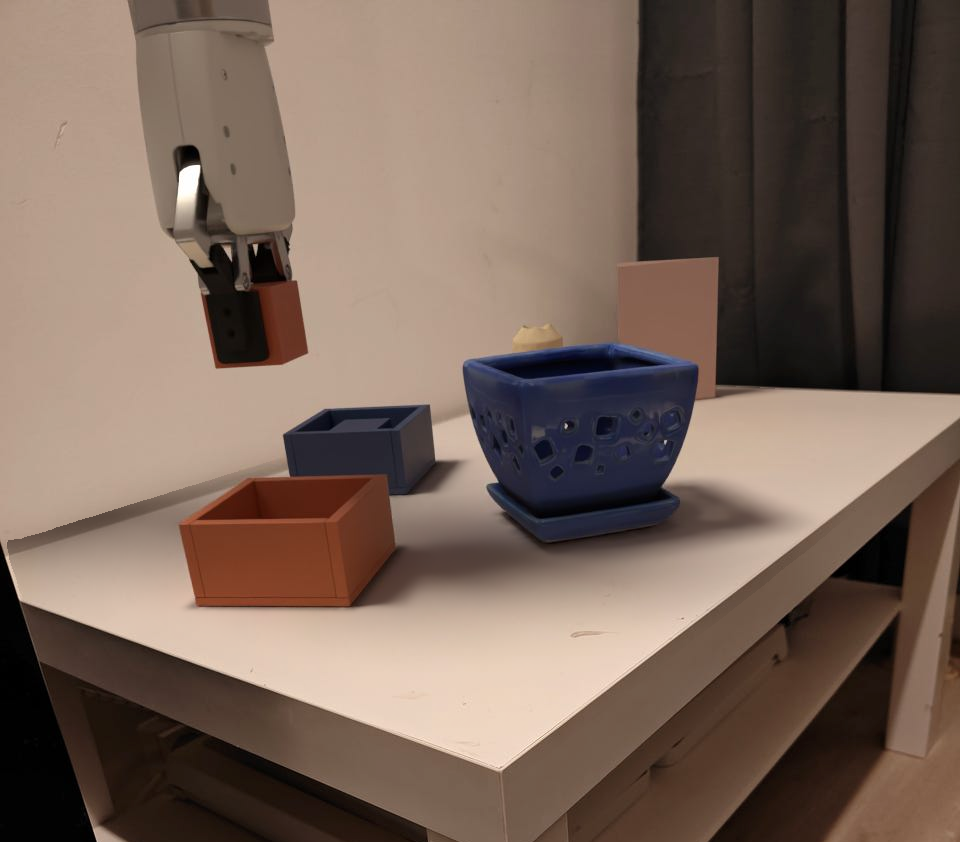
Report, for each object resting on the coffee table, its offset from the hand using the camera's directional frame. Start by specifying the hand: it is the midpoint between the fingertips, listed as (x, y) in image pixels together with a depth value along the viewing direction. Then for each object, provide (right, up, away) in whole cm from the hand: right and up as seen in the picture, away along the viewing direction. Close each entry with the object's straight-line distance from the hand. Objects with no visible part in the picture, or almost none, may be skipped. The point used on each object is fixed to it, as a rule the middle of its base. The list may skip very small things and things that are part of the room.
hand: (261, 352), depth 59 cm
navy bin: (+3, -3, +28) cm, 28 cm away
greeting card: (+35, +9, +49) cm, 60 cm away
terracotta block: (0, -1, 0) cm, 1 cm away
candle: (+21, +7, +46) cm, 51 cm away
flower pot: (+21, -9, +12) cm, 26 cm away
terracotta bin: (+2, -14, +5) cm, 15 cm away
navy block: (+3, -3, +27) cm, 28 cm away
